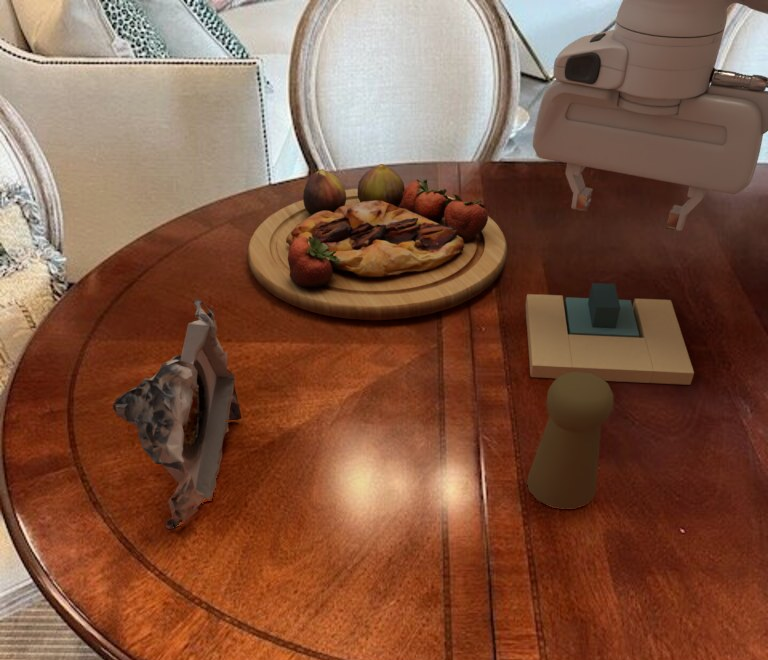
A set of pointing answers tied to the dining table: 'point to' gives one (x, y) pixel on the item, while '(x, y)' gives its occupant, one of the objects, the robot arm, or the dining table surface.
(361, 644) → the dining table surface
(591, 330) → the teal pad
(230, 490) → the dining table surface
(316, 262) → the wooden plate
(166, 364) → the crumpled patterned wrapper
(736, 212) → the dining table surface
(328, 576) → the dining table surface
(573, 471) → the olive game pawn
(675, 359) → the base pad
